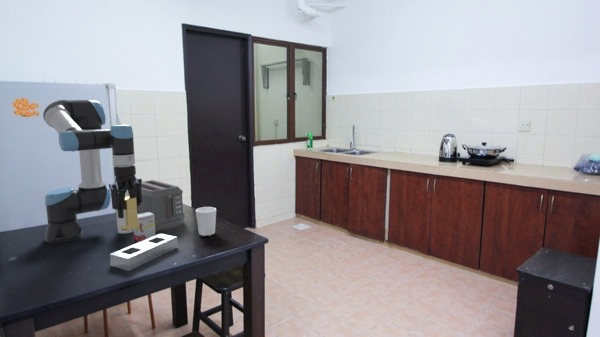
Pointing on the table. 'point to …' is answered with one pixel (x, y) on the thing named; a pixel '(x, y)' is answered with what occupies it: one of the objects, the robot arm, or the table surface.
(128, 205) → the gold square peg
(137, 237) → the ink box
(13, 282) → the table surface
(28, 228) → the table surface
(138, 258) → the white peg board
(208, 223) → the cup
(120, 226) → the bottle
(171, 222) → the toaster
